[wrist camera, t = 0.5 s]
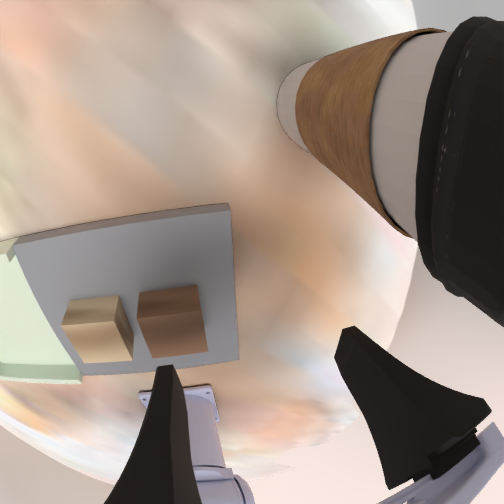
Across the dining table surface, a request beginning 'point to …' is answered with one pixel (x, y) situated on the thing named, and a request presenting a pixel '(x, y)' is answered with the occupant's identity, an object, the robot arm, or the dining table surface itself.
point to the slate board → (139, 276)
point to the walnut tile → (172, 321)
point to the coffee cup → (418, 143)
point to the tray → (28, 331)
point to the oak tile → (99, 329)
